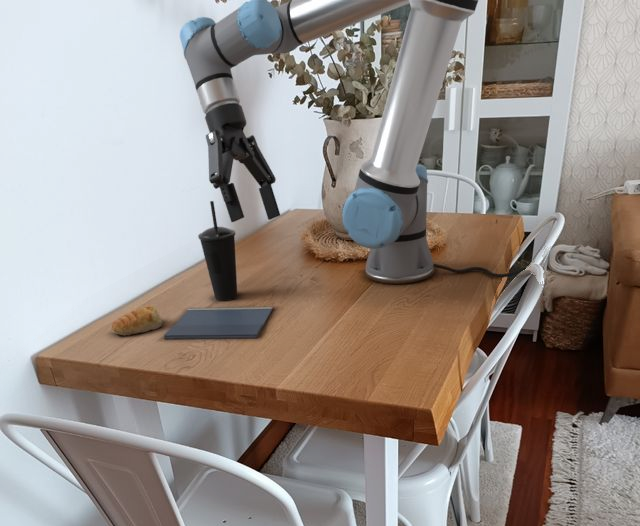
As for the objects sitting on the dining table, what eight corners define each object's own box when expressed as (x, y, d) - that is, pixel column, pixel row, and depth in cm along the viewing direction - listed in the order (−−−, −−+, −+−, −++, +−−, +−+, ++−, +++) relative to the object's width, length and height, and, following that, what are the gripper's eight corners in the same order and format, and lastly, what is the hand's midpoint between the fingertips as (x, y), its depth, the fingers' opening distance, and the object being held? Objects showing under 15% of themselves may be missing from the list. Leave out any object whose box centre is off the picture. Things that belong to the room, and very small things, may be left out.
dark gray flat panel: (273, 308, 126) (273, 305, 126) (257, 338, 114) (256, 334, 113) (189, 310, 129) (188, 306, 129) (164, 339, 117) (163, 335, 116)
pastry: (121, 340, 117) (116, 321, 115) (107, 331, 122) (102, 313, 120) (165, 326, 122) (161, 308, 120) (151, 318, 127) (146, 300, 125)
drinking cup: (250, 296, 134) (237, 200, 123) (218, 305, 130) (202, 207, 120) (234, 288, 139) (220, 195, 129) (203, 297, 136) (186, 202, 125)
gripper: (243, 123, 133) (274, 222, 137) (166, 110, 112) (205, 227, 116) (271, 108, 129) (302, 210, 133) (197, 92, 108) (236, 213, 112)
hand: (257, 218), depth 124 cm, fingers open, 13 cm apart
